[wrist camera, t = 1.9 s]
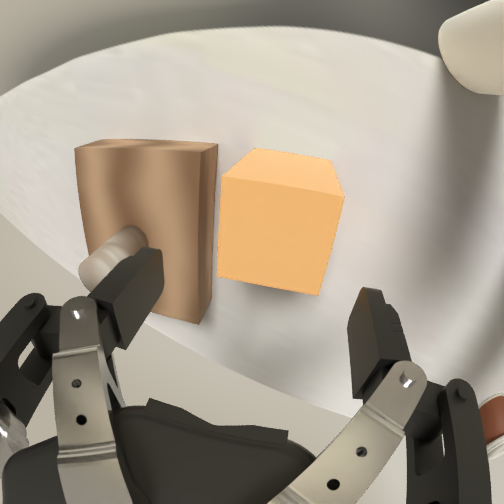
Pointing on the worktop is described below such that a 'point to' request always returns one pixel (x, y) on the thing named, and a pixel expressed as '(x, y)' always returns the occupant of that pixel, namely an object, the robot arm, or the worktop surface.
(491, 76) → the cylindrical container
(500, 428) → the coffee cup
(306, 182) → the peach foam cube
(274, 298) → the worktop surface
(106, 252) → the brown slab
